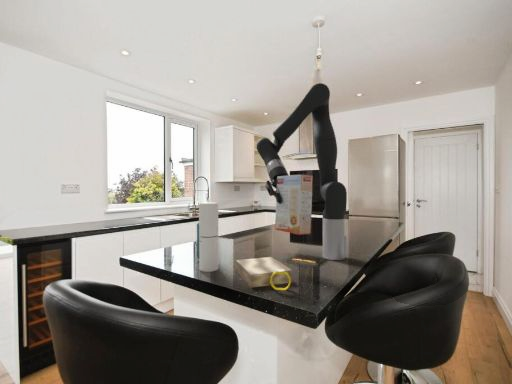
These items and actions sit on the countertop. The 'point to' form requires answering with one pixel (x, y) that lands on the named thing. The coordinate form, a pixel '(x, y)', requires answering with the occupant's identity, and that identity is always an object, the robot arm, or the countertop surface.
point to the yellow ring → (280, 271)
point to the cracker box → (294, 204)
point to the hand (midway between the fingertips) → (289, 202)
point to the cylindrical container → (208, 237)
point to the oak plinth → (262, 271)
